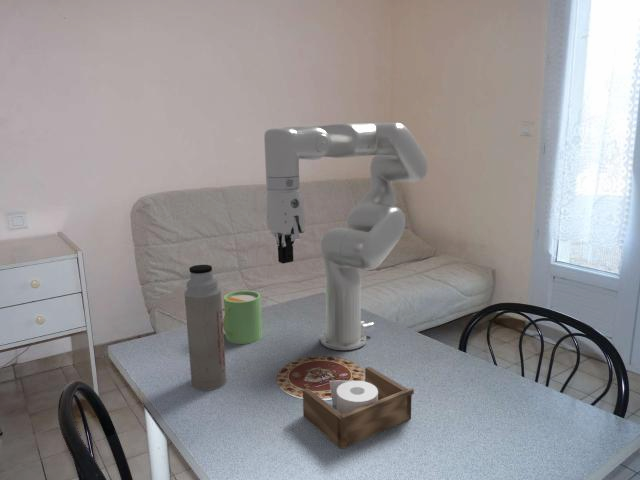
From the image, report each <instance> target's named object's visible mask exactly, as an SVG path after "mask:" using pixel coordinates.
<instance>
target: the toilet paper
mask: <svg viewBox="0 0 640 480" xmlns="http://www.w3.org/2000/svg"><path fill="white" fill-rule="evenodd" d="M329 388H330V396H331V403H332V405H333V406H336V410H337V411H338V412H340V413H341V414H342V415H343V414H346V413H348V412H351V411H353V410H356V409H358V408H361V407H363V406H366V405H368V404H371V403H373V402H376V401H378V390H377V388H376V387H375V386H374V385H373V384H371V383H368V382H365V380H329Z"/></svg>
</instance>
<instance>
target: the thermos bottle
mask: <svg viewBox="0 0 640 480" xmlns="http://www.w3.org/2000/svg"><path fill="white" fill-rule="evenodd" d="M188 270H189V273H190V276H189V277H190V279H189V280H188V281H187V282H186V288H187V289H186V290H185V291H184V292H183V293H184V303H185V319H186V328H187V331H186V332H187V343H188V351H189V367H190V368H189V369H190V381H191V386H192V387H193V388H194V389H196V390H198V391H204V392H205V391H213V390H217V389H220V388H222V387H223V386H224V385H225V384H226V382H227V368H226V353H225V351H226V350H225V336H224V334H225V331H224V327H223V319H224V316H223V303H222V290H221V288H220V287H219V286H218V285H219V284H218V280H217V278H215V277H214V274H213V266H212V265H210V264H197V265H192V266H191V267H189V269H188Z"/></svg>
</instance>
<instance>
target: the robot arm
mask: <svg viewBox="0 0 640 480" xmlns="http://www.w3.org/2000/svg"><path fill="white" fill-rule="evenodd" d="M263 139H264V161H265V180H266V181H265V182H266V186H265V187H266V192H267V195H266V224H267V228H268V229H269V230H270V233H271V235H273V236H274V237H275V243H276V246H277V259H278V260H277V262H278V263H281V264H288V263H292V262H294V246H295V242H296V241H300V239H301V238H300V234H304V233H305V232H306V219H305V208H304V201H303V195H302V192H301V188H300V186H301V185H300V184H301V183H300V163H299V162H300V160H309V161H310V160H311V161H314V160H319V159H322V158H323V157H325V158H334V159H335V158H336V159H337V158H339V159H340V158H341V159H343V158H356V157H367V156H373V157H372V158H371V162H370V167H369V169H370V187H369V190H368V191H367V193H366V194H365V195H364V196H363V198H361V200H360V201H359V202H358V203H357V205H355V206H354V207H353V209H352V210H351V211H350V213H349V215H348V216H347V218H346V219H347V220H346V225H347V227H333V228H330V229H328V230H327V231H326V232H325V233H324V234H323V236H322V239H321V241H320V252H321V256H322V261H323V267H324V279H325V280H324V281H325V282H324V283H325V332H323V333H322V334H321V335H320V343H321V345H322V346H324V347H325V348H327V349H330V350H335V351H352V350H356V349H359V348H362V347H364V345H366V344H367V335H366V334H365V333H366V332H367V331H370V330H373V329H375V326H376V325H375V323H374V322H373V321H369V322H367V323H365V321H364V320H361V319H362V300H361V299H362V280H361V274H360V271H359V269H361V270H366V271H367V270H368V271H370V270H375V269H376V268H378V267H379V266H380V265H381V264H382V263H383V261H384V260H386V258H387V257H388V255H390V253H391V252H392V250H393V248H395V246H396V245H397V244H398V242H399V240H401V238H402V236H403V233H404V231H405V227H406V217H405V213H404V211H403V210H402V209H400V208H399V207H397V206H396V204H397V196H396V192H395V189H394V186H393V182H399V183H400V182H401V183H418V182H421V181H422V180H423V179H424V178H425V177H426V175H427V172H428V170H429V169H428V168H429V167H428V160H427V157H426V154H425V153H424V151H423V149H422V148H421V146H420V144H419V143H418V142H417V140H416V138H415V137H414V135H413V134H412V133H411V131H410V130H409V129H408V128H407V126H405V125H404V124H402V123H400V122H365V123H335V124H333V123H332V124H326V125H316V126H286V127H282V128H270V129H267V130H266V131H265V132H264V138H263Z"/></svg>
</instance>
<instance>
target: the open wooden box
mask: <svg viewBox="0 0 640 480" xmlns="http://www.w3.org/2000/svg"><path fill="white" fill-rule="evenodd" d="M364 371H365V372H364V376H365V378H364V379H365V380H364V381H365V382H368V383H371V384H373V385H374V386H375V387H376V388H377V390H378V401H376V402H373V403H371V404H368V405H366V406H363V407H361V408H358V409H356V410H353V411H351V412H348V413H346V414H343V415H342V414H341V413H340V412H338V411H337V408H335V407H333V406H332V405H331V404H329V403H328V402H327V401H325V400H324V399H323V398H321V396H319V395H317V394H316V393H315V392H313V391H312V390H311V389H309V388H308V387H307V388H304V389H302V410H303V411H302V416H303V417H304V419H306V420H307V421H308V422H309V423H310V424H312V426H313V427H315V428H316V429H318V430H319V431H320V432H321V433H322V434H323V435H325V436H326V438H328V439H329V441H331V442H333V444H335V445H336V447H337V446H338V448H340V449H341V450H343V449H346V448H347V447H349V446H353V445H354V444H356V443H359V442H361V441H362V440H363V441H364V440H365V439H368V438H370V437H372V436H374V435H376V434H378V433H381V432H384V431H385V430H387V429H390V428H392V427H395V426H397V425H398V424H399V425H400V424H401V423H404V422H406V421H408V420H411V419H412V398H413V397H412V395H414V394H415V392H414V391H415V389H414V388H413V387H412V388H411V387H410V388H407V387H406V386H404V385H402V384H400V383H398V382H396V381H395V380H393V379H392V378H390V377H388V376H386V375H385V374H383V373H382V372H380V371H378V370H377V369H375V368H373V367H371V366H367V367H365V368H364Z"/></svg>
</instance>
